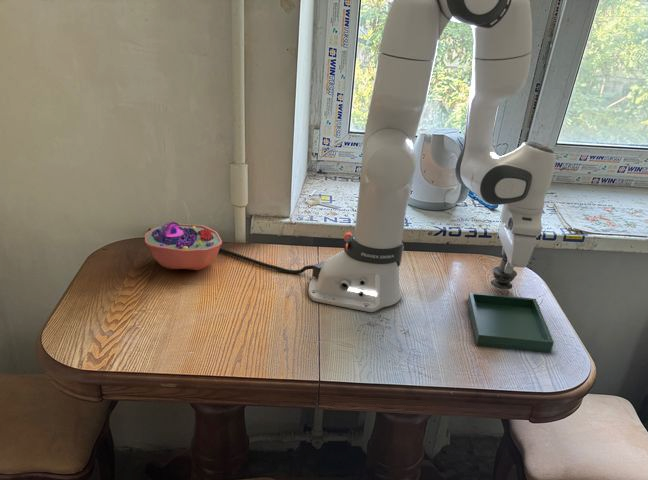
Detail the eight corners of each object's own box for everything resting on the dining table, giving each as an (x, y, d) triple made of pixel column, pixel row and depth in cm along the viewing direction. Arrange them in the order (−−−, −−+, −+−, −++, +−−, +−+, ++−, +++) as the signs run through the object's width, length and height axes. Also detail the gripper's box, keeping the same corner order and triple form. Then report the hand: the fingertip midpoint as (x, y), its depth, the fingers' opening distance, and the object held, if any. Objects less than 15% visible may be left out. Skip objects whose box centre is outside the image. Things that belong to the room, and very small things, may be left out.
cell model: (199, 289, 144) (197, 245, 138) (132, 270, 151) (127, 227, 144) (236, 262, 157) (235, 222, 151) (173, 246, 164) (169, 206, 157)
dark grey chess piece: (514, 291, 147) (527, 246, 141) (490, 287, 148) (502, 242, 142) (512, 281, 152) (525, 237, 146) (488, 277, 153) (500, 233, 146)
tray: (476, 345, 129) (478, 334, 127) (467, 301, 145) (469, 292, 144) (550, 352, 127) (553, 342, 126) (532, 308, 144) (535, 298, 142)
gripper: (500, 198, 149) (487, 249, 157) (514, 229, 132) (499, 285, 140) (525, 201, 149) (511, 252, 156) (543, 232, 132) (526, 288, 139)
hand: (505, 268), depth 148 cm, fingers closed on dark grey chess piece, 3 cm apart
